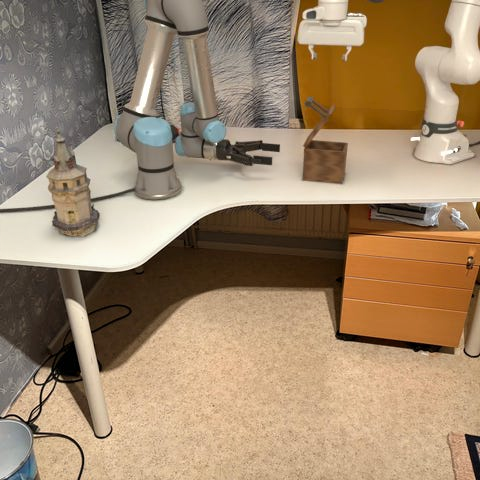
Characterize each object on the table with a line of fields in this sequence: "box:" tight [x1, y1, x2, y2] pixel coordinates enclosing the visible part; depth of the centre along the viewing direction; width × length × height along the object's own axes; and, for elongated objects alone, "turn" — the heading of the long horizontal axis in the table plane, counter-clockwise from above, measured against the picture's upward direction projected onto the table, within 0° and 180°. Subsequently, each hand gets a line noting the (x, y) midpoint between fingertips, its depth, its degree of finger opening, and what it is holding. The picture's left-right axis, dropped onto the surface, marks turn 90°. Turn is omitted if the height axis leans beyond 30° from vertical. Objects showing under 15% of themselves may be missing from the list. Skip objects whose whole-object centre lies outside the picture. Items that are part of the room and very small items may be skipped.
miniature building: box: [46, 129, 101, 237], centre depth 148 cm, size 13×14×30 cm
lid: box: [302, 95, 336, 148], centre depth 179 cm, size 14×10×9 cm
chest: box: [302, 139, 349, 185], centre depth 184 cm, size 14×10×11 cm
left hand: (276, 154), depth 188 cm, fingers open, 13 cm apart
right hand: (329, 60), depth 168 cm, fingers open, 8 cm apart
